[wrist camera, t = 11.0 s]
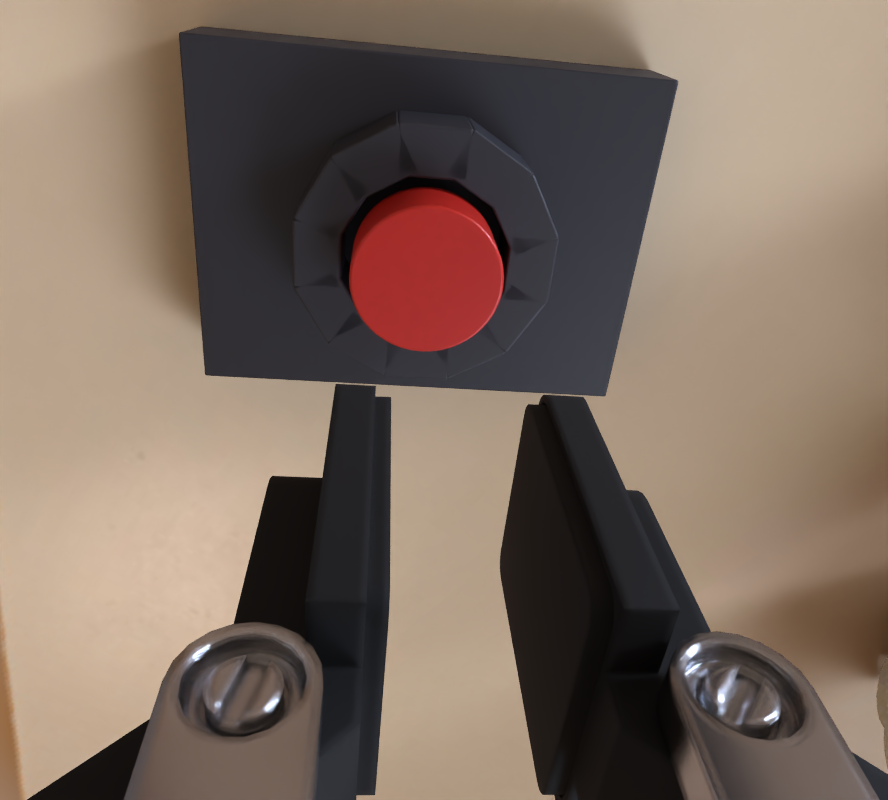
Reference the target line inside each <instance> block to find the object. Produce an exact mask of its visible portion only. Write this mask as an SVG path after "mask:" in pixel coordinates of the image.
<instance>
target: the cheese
mask: <svg viewBox="0 0 888 800" xmlns="http://www.w3.org/2000/svg"><path fill="white" fill-rule="evenodd" d="M876 697H877V711H878V715H879V719H880V721H881V723H882V725H883V727H884V749H885V756H886V762H887V767H888V657H887V659H886V661H885V663H884V665H883V666H882V669H881V672H880V675H879V681H878V690H877V696H876Z"/></svg>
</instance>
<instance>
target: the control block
mask: <svg viewBox="0 0 888 800" xmlns="http://www.w3.org/2000/svg"><path fill="white" fill-rule="evenodd" d="M179 41H180V54H181V67H182V80H183V93H184V106H185V119H186V132H187V145H188V158H189V171H190V184H191V197H192V210H193V223H194V236H195V249H196V262H197V275H198V288H199V301H200V314H201V327H202V340H203V353H204V366H205V375H210V376H229V377H248V378H267V379H286V380H305V381H324V382H343V383H362V384H381V385H400V386H419V387H438V388H457V389H476V390H495V391H514V392H533V393H552V394H571V395H590V396H605V395H606V392H607V387H608V383H609V379H610V374H611V370H612V366H613V361H614V357H615V353H616V348H617V344H618V340H619V336H620V331H621V327H622V323H623V318H624V314H625V310H626V305H627V301H628V297H629V292H630V288H631V284H632V280H633V275H634V271H635V267H636V262H637V258H638V254H639V249H640V245H641V241H642V236H643V232H644V228H645V224H646V219H647V215H648V211H649V206H650V202H651V198H652V193H653V189H654V185H655V180H656V176H657V172H658V168H659V163H660V159H661V155H662V150H663V146H664V142H665V137H666V133H667V129H668V124H669V120H670V116H671V111H672V107H673V103H674V99H675V94H676V90H677V86H678V81H677V80H675V79H672V78H670V77H667V76H664V75H662V74H659V73H656V72H654V71H651V70H641V69H630V68H620V67H610V66H600V65H590V64H579V63H569V62H559V61H549V60H538V59H528V58H518V57H508V56H497V55H487V54H477V53H467V52H457V51H446V50H436V49H426V48H416V47H405V46H395V45H385V44H375V43H365V42H354V41H344V40H334V39H324V38H313V37H303V36H293V35H283V34H272V33H262V32H252V31H242V30H232V29H221V28H211V27H198V28H194V29H191V30H187V31H183V32H180V33H179ZM415 187H435V188H441V189H444V190H448V191H451V192H453V193H455V194H458V195H460V196H461V197H463V198H464V199H466V200H467V201H469V202H470V203H471V204H472V205H474V206H475V207H476V208H477V209H478V211H479V212H480V213H481V214H482V215H483V217H484V218H485V220H486V221H487V223H488V225H489V227H490V229H491V232H492V234H493V237H494V240H495V242H496V245H497V248H498V250H499V253H500V256H501V259H502V264H503V270H504V284H503V291H502V295H501V299H500V301H499V304H498V306H497V308H496V310H495V312H494V314H493V316H492V317H491V318H490V320H489V321H488V322H487V324H486V325H485V326H484V327H483V328H482V329H481V330H480V331H479V332H478V333H476V334H475V335H474V336H472V337H471V338H470V339H468V340H467V341H465V342H463V343H461V344H459V345H456V346H453V347H451V348H447V349H443V350H438V351H413V350H408V349H404V348H401V347H398V346H396V345H393V344H391V343H389V342H387V341H385V340H384V339H382V338H381V337H379V336H378V335H377V334H375V333H374V332H373V331H372V330H371V329H370V328H369V327H368V326H367V325H366V324H365V322H364V321H363V320H362V318H361V317H360V315H359V314H358V312H357V310H356V308H355V306H354V303H353V300H352V297H351V292H350V286H349V273H350V264H351V257H352V250H353V244H354V240H355V236H356V233H357V231H358V228H359V226H360V225H361V223H362V221H363V219H364V218H365V217H366V215H367V214H368V213H369V211H370V210H371V209H372V208H373V207H374V206H375V205H376V204H378V203H379V202H380V201H382V200H383V199H384V198H386V197H388V196H390V195H391V194H394V193H396V192H399V191H401V190H405V189H409V188H415Z"/></svg>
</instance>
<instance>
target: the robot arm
mask: <svg viewBox="0 0 888 800" xmlns="http://www.w3.org/2000/svg"><path fill="white" fill-rule="evenodd" d="M375 390H376V386H364V385H345V384H336V386H335V393H334V400H333V407H332V414H331V421H330V428H329V435H328V442H327V449H326V457H325V464H324V471H323V478H309V477H283V476H272V477H271V478H270V480H269V483H268V486H267V491H266V495H265V499H264V503H263V507H262V511H261V515H260V519H259V523H258V527H257V531H256V535H255V539H254V543H253V548H252V552H251V556H250V560H249V564H248V568H247V572H246V576H245V580H244V584H243V588H242V592H241V596H240V600H239V605H238V609H237V613H236V617H235V621H234V624H232V625H229V626H226V627H223V628H220V629H217V630H214V631H211V632H209V633H207V634H205V635H204V636H202V637H200V638H199V639H197V640H195V641H194V642H192V643H191V644H189V645H188V646H187V647H186V648H185V649H184V650H183V651H182V652H181V653H180V654H179V655H178V656H177V657H176V658H175V659H174V660H173V662H172V663H171V665H170V667H169V669H168V671H167V673H166V675H165V677H164V679H163V681H162V684H161V687H160V690H159V693H158V696H157V699H156V702H155V705H154V708H153V711H152V714H151V717H150V719H149V720H148V721H146V722H145V723H143V724H141V725H140V726H138V727H137V728H135V729H134V730H132V731H131V732H129V733H128V734H126V735H125V736H123V737H122V738H120V739H119V740H117V741H116V742H114V743H113V744H111V745H109V746H108V747H106V748H105V749H103V750H102V751H100V752H99V753H97V754H96V755H94V756H93V757H91V758H90V759H88V760H87V761H85V762H84V763H82V764H81V765H79V766H78V767H76V768H74V769H73V770H71V771H70V772H68V773H67V774H65V775H64V776H62V777H61V778H59V779H58V780H56V781H55V782H53V783H52V784H50V785H49V786H47V787H46V788H44V789H43V790H41V791H39V792H38V793H36V794H35V795H33V796H32V797H30V798H29V799H27V800H356V795H375V788H376V775H377V762H378V750H379V737H380V724H381V711H382V698H383V685H384V672H385V659H386V646H387V633H388V619H389V598H390V483H391V397H375ZM500 574H501V581H502V587H503V592H504V598H505V603H506V609H507V615H508V620H509V626H510V631H511V637H512V643H513V648H514V654H515V660H516V665H517V671H518V676H519V682H520V688H521V693H522V699H523V704H524V710H525V716H526V721H527V727H528V732H529V738H530V744H531V749H532V755H533V760H534V766H535V772H536V777H537V782H538V787H539V790H540V792H541V793H542V795H554V796H555V800H888V774H886V773H885V772H883V771H881V770H880V769H878V768H877V767H875V766H873V765H872V764H870V763H868V762H867V761H865V760H864V759H862V758H860V757H859V756H857V755H856V754H854V753H852V752H851V750H850V749H849V747H848V745H847V744H846V742H845V740H844V739H843V737H842V735H841V733H840V732H839V730H838V728H837V727H836V725H835V723H834V722H833V720H832V718H831V716H830V715H829V713H828V711H827V710H826V708H825V706H824V705H823V703H822V701H821V700H820V698H819V696H818V694H817V693H816V691H815V689H814V688H813V687H812V685H811V684H810V683H809V681H808V680H807V679H806V678H805V676H804V675H803V674H802V672H801V671H800V670H799V669H798V668H797V667H795V666H794V665H793V664H792V663H791V662H790V661H788V660H787V659H786V658H785V657H784V656H783V655H781V654H780V653H778V652H776V651H774V650H773V649H771V648H769V647H768V646H766V645H764V644H762V643H761V642H758V641H755V640H752V639H750V638H747V637H744V636H741V635H738V634H732V633H724V632H717V631H716V632H711V631H710V629H709V627H708V625H707V623H706V621H705V618H704V616H703V614H702V612H701V610H700V608H699V606H698V604H697V602H696V600H695V598H694V596H693V594H692V592H691V590H690V587H689V585H688V583H687V581H686V579H685V577H684V575H683V573H682V571H681V569H680V567H679V565H678V563H677V561H676V558H675V556H674V554H673V552H672V550H671V548H670V546H669V544H668V542H667V540H666V538H665V536H664V534H663V532H662V529H661V527H660V525H659V523H658V521H657V519H656V517H655V515H654V513H653V511H652V509H651V507H650V505H649V503H648V500H647V499H646V498H645V496H644V495H643V493H641V492H639V491H635V490H626V488H625V486H624V484H623V482H622V480H621V477H620V475H619V473H618V471H617V469H616V466H615V464H614V462H613V460H612V457H611V455H610V453H609V451H608V449H607V446H606V444H605V442H604V440H603V438H602V435H601V433H600V431H599V429H598V426H597V424H596V422H595V420H594V418H593V415H592V413H591V411H590V409H589V407H588V404H587V402H586V400H585V399H584V397H574V396H555V395H543V396H542V397H541V399H540V402H539V405H532V404H528V405H527V407H526V410H525V414H524V419H523V425H522V431H521V437H520V443H519V449H518V454H517V460H516V466H515V472H514V478H513V484H512V489H511V495H510V501H509V507H508V513H507V519H506V524H505V530H504V536H503V542H502V548H501V555H500Z"/></svg>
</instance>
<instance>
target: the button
mask: <svg viewBox="0 0 888 800" xmlns="http://www.w3.org/2000/svg"><path fill="white" fill-rule="evenodd" d="M503 284H504V270H503V264H502V259H501V256H500V253H499V250H498V248H497V245H496V242H495V240H494V237H493V234H492V232H491V229H490V227H489V225H488V223H487V221H486V220H485V218H484V217H483V215H482V214H481V213H480V212H479V211H478V209H477V208H476V207H475V206H474V205H472V204H471V203H470V202H469V201H467V200H466V199H464V198H463V197H461V196H460V195H458V194H455V193H453V192H451V191H448V190H444V189H441V188H435V187H415V188H409V189H405V190H401V191H399V192H396V193H394V194H391V195H390V196H388V197H386V198H384V199H383V200H382V201H380V202H379V203H378V204H376V205H375V206H374V207H373V208H372V209H371V210H370V211H369V213H368V214H367V215H366V217H365V218H364V219H363V221H362V223H361V225H360V226H359V228H358V231H357V233H356V236H355V240H354V244H353V250H352V257H351V264H350V273H349V286H350V292H351V297H352V300H353V303H354V306H355V308H356V310H357V312H358V314H359V315H360V317H361V318H362V320H363V321H364V322H365V324H366V325H367V326H368V327H369V328H370V329H371V330H372V331H373V332H374V333H375V334H377V335H378V336H379V337H381V338H382V339H384V340H385V341H387V342H389V343H391V344H393V345H396V346H398V347H401V348H404V349H408V350H413V351H438V350H443V349H447V348H451V347H453V346H456V345H459V344H461V343H463V342H465V341H467V340H468V339H470V338H471V337H472V336H474V335H475V334H476V333H478V332H479V331H480V330H481V329H482V328H483V327H484V326H485V325H486V324H487V322H488V321H489V320H490V318H491V317H492V316H493V314H494V312H495V310H496V308H497V306H498V304H499V301H500V299H501V295H502V291H503Z"/></svg>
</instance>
